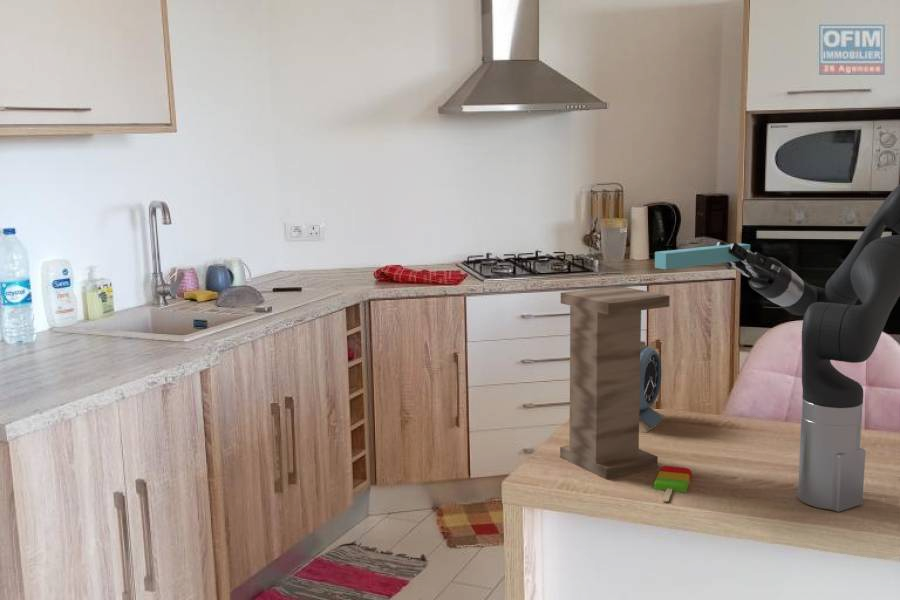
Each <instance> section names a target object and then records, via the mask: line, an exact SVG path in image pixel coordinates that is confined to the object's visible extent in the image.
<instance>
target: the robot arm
mask: <svg viewBox="0 0 900 600" xmlns="http://www.w3.org/2000/svg"><path fill="white" fill-rule="evenodd" d="M886 227H887V228H889V229H891V230H893V231H894V232H896V233H897V234H894V235H892V234H891V235H887V236H882V235H883V233H884V231H885V229H886ZM730 244H731V245H730V248H729V253H730V254H732V255H733V256H735V257H736V258H737V259H739V260H742V261H734V262H726V263H722V264H723V266H724V267H725V268H726V269H727V270H731V271H732V270H733V268H734V269H736V270H737V271H739V272H740V274H742V276H745V277H747V281H748V285H749V286H750V288H751V289H752V290H754V291H755V292H757V293H758V294H759V295H761V296H763V297H764V298H766V299H767V300H768V301H770V302H772V303H773V304H776V305H778V306H780V307H781V308H783V309H784V310H786V311H787V312H789V314H792V315H794V316H803V319H802V325H801V326H802V328H801V385H802V386H801V387H802V398H801V416H800V437H799V441H800V442H799V456H798V457H799V459H798V482H797V498H798V499H799V501H801V502H802V503H804V504H805V505H809V506H812V507H815V508H817V509H823V510H824V509H825V510H831V511H834V512H843V511H846V510H849V509H852V508H856V507H859V506H862V505H863V502H864V501H863V499H864V485H865V483H864V480H865V467H866V465H865V464H866V450H865V448H862V447H861V440H862V439H861V438H862V419H863V406H864V405H863V404H864V388H863V386H862V385H861V383H859V381H857V380H854V379H853V378H851V377H848V376H847V375H845V374H844V373H842V372H840V371H839V370H838V369H837V368H836V367H835V366H834V365H833V364H832V362H831V361H837V362H844V363H851V364H852V363H853V364H857V363H863V362H865V361H867V360H868V359H869V358H870V357H871V356H872V354H873V353H874V351H875V349H876V347H877V345H878V343H879V340H880V338H881V335H882V333H883V331H884V328H885V326H886V324H887V321H888V319H889V316H890V314H891V312H892V310H893V308H894V306H895V305H896V303H897V301H898V300H899V298H900V184H898V185H897V186H896V187H895V188H894V189H893V190H892V191H891V192H890V194H889V195H888V196H887V197H886V199H884V201H883V202H882V204H881V205H880V207H879V208H878V210H877V211H876V212H875V214H874V215H873V216H872V218H871V220H870V221H869V222H868V224H867V225H866V226H865V228H864V229H863V232H862V233H861V235H860V237H859V238H858V239H857V241H856V243H855V244H854V246H853V248H852V249H851V251H850V253H849V254H848V255H847V256H846V258H845V259H844V260H843V262H842V263H841V264H840V265H839V267H838V268H837V269H836V270H835V272H833V274H832V275H831V276H830V277H829V278H828V280H827V281H826V283H825V287H824V288H823V287H819V286H817V285H812V284H810V283H808V282H807V281H805V280H803V279H802V278H801V277H800V276H799V275H798V274H797V273H796V272H795V271H793V270H792V269H790V268H789V267H788V266H786V265H785V264H784V263H782V262H781V261H780V260H778V259H777V258H775V257H772V256H771V257H770V256H769V257H768V256H766V255H764V254H762V253H760V252H757V251H755V252H753V251H751V249H750V250H745V249H744V248H742V247H741V246H740V245H738V243H737V242H731V243H730ZM718 245H728V244H727V243H726V242H724V241H721V240H719V241H717V243H716V245H715V246H718ZM858 300H860V302H861V304H859V305H856V302H857V301H858Z"/></svg>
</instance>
